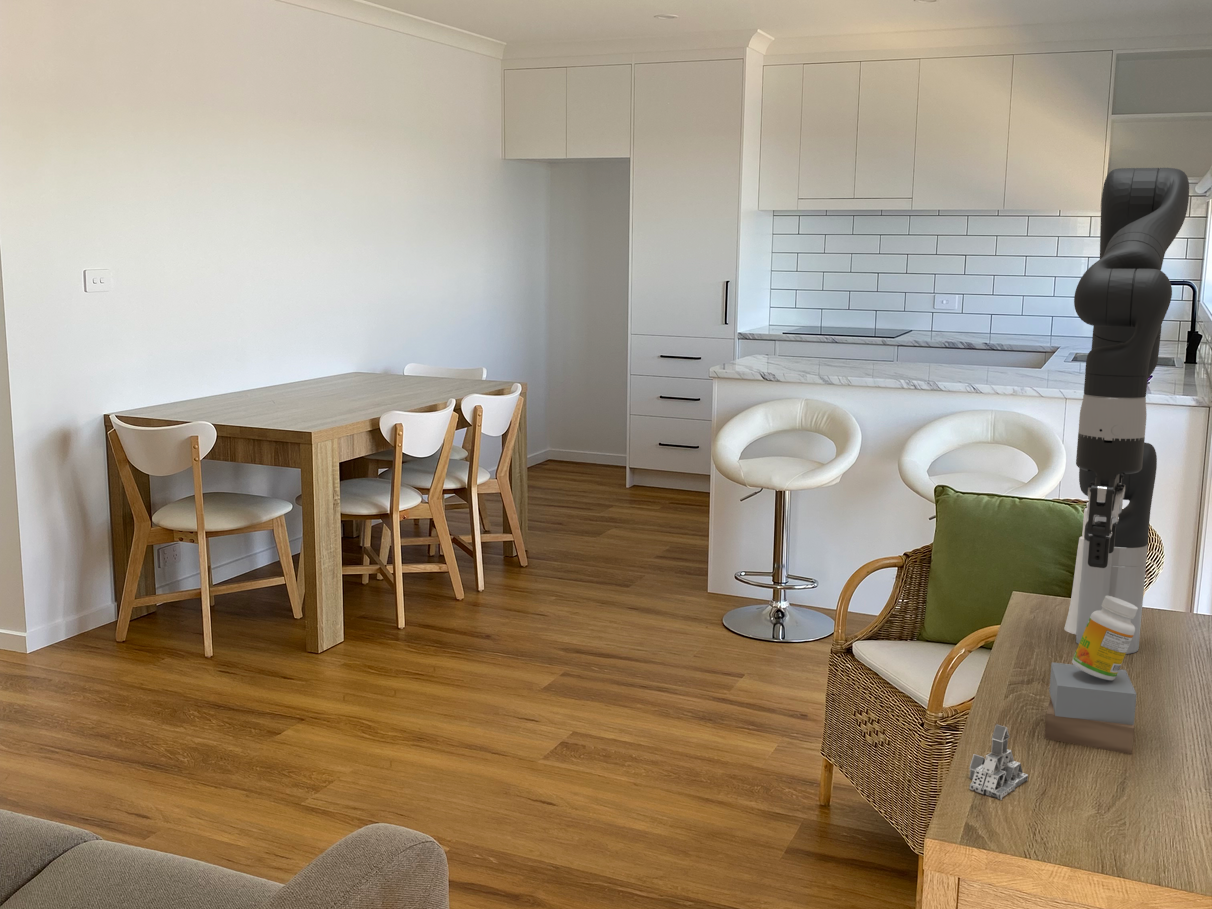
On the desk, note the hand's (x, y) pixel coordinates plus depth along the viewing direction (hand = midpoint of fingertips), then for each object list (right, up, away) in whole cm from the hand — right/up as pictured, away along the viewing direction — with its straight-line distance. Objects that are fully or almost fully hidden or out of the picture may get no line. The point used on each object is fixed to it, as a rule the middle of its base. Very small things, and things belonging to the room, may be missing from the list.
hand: (1100, 559), depth 138 cm
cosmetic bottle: (+18, -17, +46) cm, 52 cm away
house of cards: (-19, -25, -11) cm, 33 cm away
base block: (0, -23, +3) cm, 23 cm away
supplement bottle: (0, -15, +2) cm, 15 cm away
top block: (0, -19, +2) cm, 19 cm away
